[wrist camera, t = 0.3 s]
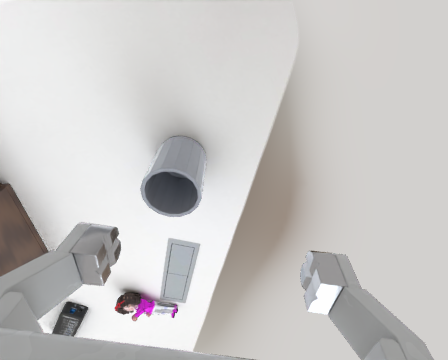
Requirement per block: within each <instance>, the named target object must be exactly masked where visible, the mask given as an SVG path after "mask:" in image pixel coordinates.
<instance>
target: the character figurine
mask: <svg viewBox="0 0 448 360" xmlns="http://www.w3.org/2000/svg"><path fill="white" fill-rule="evenodd" d="M139 296H140V294H135V293H131V294H130V293H129V294H127V293H125V294H124V295H121V296H120V297H119V298H118V300H117V304H116V307H115V311H118V313H122V314H123V315H124V314H129V312H130V313H131V312H133V311H134V309H136V310H137V311H136V312H137V313H136V314H134V315H133V316H132V320H133V321H136V320H137V317H139V316H140V315H141V314H142V313H143V312H145V313H144V314H146V315H147V316H148V317H149V316H150V315H151V314H158V315H159V314H171V316H172V318H174V316H175V313H177V312H178V308H177V305H171V304H166V303H161V302H155V301H152V302H147V300H144V299H141V297H139Z"/></svg>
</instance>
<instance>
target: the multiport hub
mask: <svg viewBox="0 0 448 360" xmlns="http://www.w3.org/2000/svg"><path fill="white" fill-rule="evenodd" d="M87 310H88V308H87V307H85V306H81V305H78V304H74V303H71V302H67V303H66V304H65V306H64V308H63V310H62V312H61V314H60V316H59V318H58V321H57V323H56V325H55V328H54V330H53V333H52V334H57V335H65V336H73V337H74V335H75V333H76V332H77V330H78V328H79V326H80V324H81V322H82V320H83V318H84V316H85V314H86V312H87Z"/></svg>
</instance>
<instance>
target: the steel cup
mask: <svg viewBox="0 0 448 360" xmlns="http://www.w3.org/2000/svg"><path fill="white" fill-rule="evenodd" d="M205 170H206V154H205V151H204V149H203V148H202V146H201V145H200V144H199V143H198V142H196V141H195V140H193V139H191V138H189V137H185V136H175V137H171V138H169V139H167V140H166V141H164V142H163V143H162V145H161V146H160V147H159V149H158V151H157V153H156V155H155V157H154V159H153V161H152V163H151V165H150V167H149V169H148V171H147V173H146V175H145V177H144V179H143V181H142V185H141V194H142V198H143V200H144V201H145V203H146V204H147V205H148V207H149V208H151V209H152V210H154V211H155V212H157V213H159V214H162V215H165V216H169V217H181V216H184V215H187V214H190V213H191V212H192V211H194V210H195V209H196V208H197V207H198V205H199V203H200V201H201V198H202V191H203V184H204V177H205Z"/></svg>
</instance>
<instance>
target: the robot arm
mask: <svg viewBox="0 0 448 360" xmlns="http://www.w3.org/2000/svg"><path fill="white" fill-rule="evenodd" d="M118 234H119V232H118V228H116V227H112V226H105V225H98V224H90V223H83V222H81V223H79V224H77V225H76V227H75V228H74V229H73V230H72V231H71V233H70V234H69V235H68V236H67V237H66V239H65V240H64V241H63V242H62V243H61V245H60V246H59V247H58V248H57V249H56V251H50V252H48V253H46V254H44V255H42V256H40V257H38V258H36V259H34V260H32V261H30V262H28V263H26V264H24V265H22V266H20V267H18V268H16V269H14V270H13V271H11V272H9V273H7V274H5V275H3V276H1V277H0V360H254V359H246V358H238V357H231V356H223V355H214V354H207V353H199V352H191V351H183V350H176V349H168V348H160V347H152V346H144V345H136V344H128V343H120V342H112V341H104V340H96V339H89V338H81V337H73V336H65V335H57V334H49V333H43V329H42V328H41V326H40V324H39V322H38V320H39V319H40V318H41V317H42V316H44V315H45V314H46V313H48V312H49V311H50V310H51V309H53V308H54V307H55V306H56V305H58V304H59V303H60V302H62V301H63V300H64V299H65V298H67V297H68V296H69V295H71V294H72V293H73V292H74V291H76V290H77V289H78V288H80V287H81V286H82V284H89V285H99V286H104V284H105V282H106V280H107V278H108V277H109V275H110V273H111V270H110V267H111V266H112V265H114V264H115V263H116V262H117V260H118V258H119V254H120V251H121V243H120V241H119V240H118V239H117V236H118ZM306 260H307V262H305V263H303V265H302V268H301V275H300V277H301V284H302V287H303V288H304V289H305V290H306V292H305V295H304V299H305V303H306V307H307V311H308V312H315V313H321V314H328V316H329V317H330V319H331V320H332V322H333V323H334V324H335V326H336V327H337V328H338V330H339V331H340V332H341V333H342V335H343V336H344V338H345V339H346V340H347V342H348V343H349V344H350V346H351V347H352V348H353V350H354V351H355V352H356V354H357V355H358V356H359V358H360V359H361V360H434V359H433V358H432V356H431V354H430V352H429V350H428V349H427V347H426V345H425V343H424V342H423V341H422V340H421V339H420V338H419V337H417V336H416V335H415V334H414V333H413V332H412V331H411V330H410V329H409V328H408V327H407V326H405V325H404V324H403V323H402V322H401V321H400V320H399V319H398V318H397V317H396V316H394V315H393V314H392V313H391V312H390V311H389V310H388V309H387V308H386V307H384V306H383V305H382V304H381V303H380V302H379V301H378V300H377V299H375V298H374V297H373V296H372V295H371V294H370V293H369V292H368V291H367V290H365V289H362V288H361V286H360V284H359V281H358V279H357V277H356V275H355V272H354V270H353V268H352V266H351V263H350V261H349V259H348V257H347V256H346V255H343V254H335V253H333V254H332V253H326V252H317V251H308V253H307V255H306Z"/></svg>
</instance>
